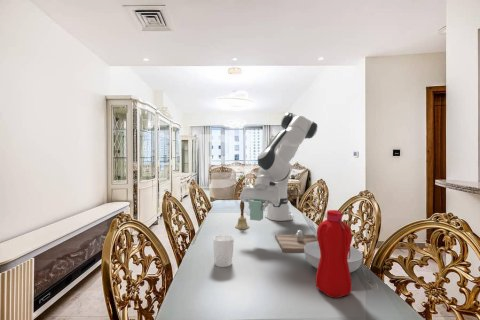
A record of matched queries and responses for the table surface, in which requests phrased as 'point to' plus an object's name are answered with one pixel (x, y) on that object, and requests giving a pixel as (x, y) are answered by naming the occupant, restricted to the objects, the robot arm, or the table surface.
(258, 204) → the sleeve
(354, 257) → the serving bowl
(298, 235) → the post
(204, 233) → the table surface
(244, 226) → the hand bell
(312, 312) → the table surface
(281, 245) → the board
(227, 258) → the white cup
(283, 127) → the robot arm
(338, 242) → the water bottle
